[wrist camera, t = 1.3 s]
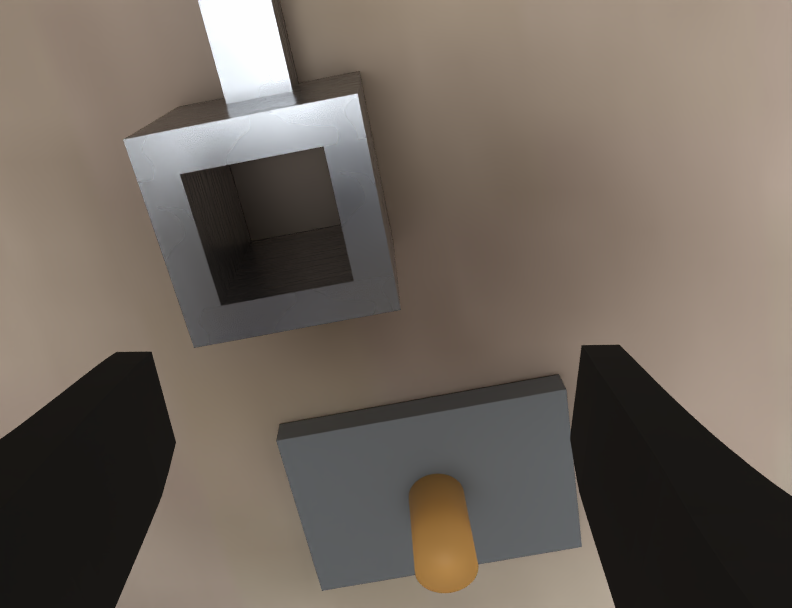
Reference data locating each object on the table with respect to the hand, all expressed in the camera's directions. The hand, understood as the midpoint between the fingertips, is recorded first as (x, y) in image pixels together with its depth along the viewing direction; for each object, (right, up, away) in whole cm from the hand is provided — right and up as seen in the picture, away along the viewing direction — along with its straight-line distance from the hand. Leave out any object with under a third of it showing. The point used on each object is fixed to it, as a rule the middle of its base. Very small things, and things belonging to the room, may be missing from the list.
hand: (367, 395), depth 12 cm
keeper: (+2, -5, +14) cm, 15 cm away
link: (-3, +7, +9) cm, 12 cm away
